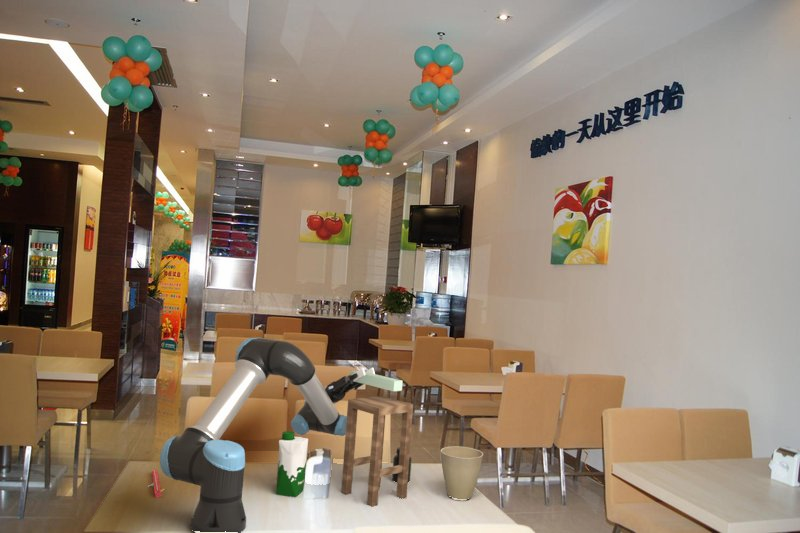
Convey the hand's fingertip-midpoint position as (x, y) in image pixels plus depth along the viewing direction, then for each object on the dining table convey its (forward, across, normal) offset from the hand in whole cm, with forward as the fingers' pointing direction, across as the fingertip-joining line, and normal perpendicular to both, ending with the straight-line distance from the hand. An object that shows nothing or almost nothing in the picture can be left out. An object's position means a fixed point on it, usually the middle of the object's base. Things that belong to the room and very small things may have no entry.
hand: (368, 371), depth 222 cm
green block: (+1, 0, +6) cm, 6 cm away
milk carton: (-25, -27, +33) cm, 49 cm away
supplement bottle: (-16, +15, +38) cm, 44 cm away
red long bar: (-51, -61, +18) cm, 81 cm away
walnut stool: (-10, -4, +41) cm, 42 cm away
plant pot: (+5, +20, +50) cm, 54 cm away
